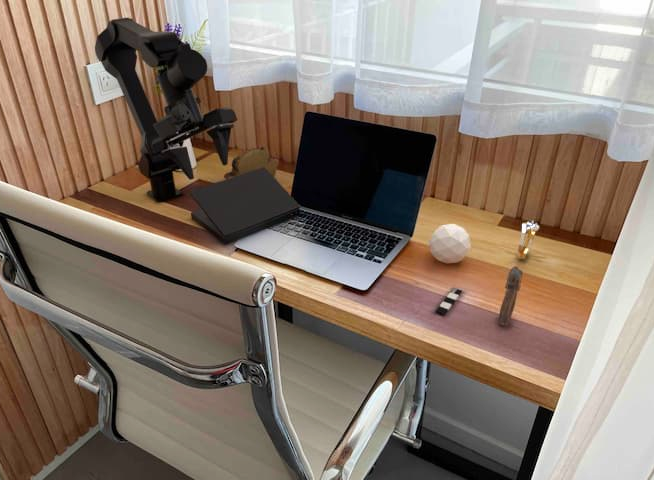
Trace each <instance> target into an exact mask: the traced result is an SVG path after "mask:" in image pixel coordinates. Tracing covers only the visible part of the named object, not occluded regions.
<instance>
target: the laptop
mask: <svg viewBox="0 0 654 480" xmlns="http://www.w3.org/2000/svg"><path fill="white" fill-rule="evenodd" d="M299 211H300V212H299ZM296 212H297V213H296ZM291 214H292V215H291ZM300 215H301V209H300V208H299V209H296V210H294V211H291V212H289V213H286V214H284V215H281V216H279V217H276V218H273V219H271V220H268V221H266V222H263V223H261V224H258V225H255V226H253V227H250V228H248V229H245V230H243V231H240V232H238V233H235V234H232V235H230V236H227V237H224V236H223V235H222V234H221V232H220V231H219V230H218V229H217V227H216V226H215V225H214V224H213V222H212V221H211V220H210V219H209V217H208V216H207V215H206V214H205V212H204V211H203V210H202V209H201V208H200V209H197V210H194V211H190V218H191V221H193V222H195V223H196V224H197V225H198V226H200V227H201V228H202V229H203V230H205V231H207V232H208V233H209V234H210V235H212V236H213V237H214V238H216V239H217V240H218V241H220V242H221V243H222V244H223V245H224V246H226V245H229V244H231V243H235V242H236V241H239V240H241V239H243V238H246V237H248V236H251V235H254V234H257V233H259V232H261V231H263V230H266V229H269V228H271V227H274V226H276V225H280V224H281V223H284V222H287V221H288V220H292V219H294V218H296V217H299V216H300Z"/></svg>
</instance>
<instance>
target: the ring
mask: <svg viewBox="0 0 654 480" xmlns="http://www.w3.org/2000/svg"><path fill="white" fill-rule="evenodd" d="M534 221H535V220H533V219H532V220H531V221H529V220H527V222H522V224H521V227H522V228H521V236H520V239H519V240H520V241H519V245H518V249H517V255H516V256H517V259H520V260H525V259H526V257H527V255H528V253H529V251H530V249H531V247H532V245H533V241H534V238H535V234H536V232H537V231H538V230H539V229H540V225H538V223H537V222H535V223H534ZM526 234H527V235H526ZM526 236H527V239H526ZM525 240H526V241H525Z"/></svg>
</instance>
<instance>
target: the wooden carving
mask: <svg viewBox="0 0 654 480" xmlns="http://www.w3.org/2000/svg"><path fill="white" fill-rule="evenodd" d="M279 164H280V160H279V159H277V158H275V157H272V156H271V153H270V151H269V148H267V147H264V146H262V147H260V148H258V147H252V148H248V149H247V150H245V151H243V152H241V153H240V154H238V156H236V157H234V158H232V161H231V171H229V172H226V173H225V174H223V178H224V180H226V179H229V178H232V177H235V176H238V175H241V174H244V173H247V172H250V171H253V170H256V169H259V168H262V167H265V168H266V169H267V170H268V171H269V172H270V174H271V175H272V176H273V177H275V176H276V173H277V169H278V167H279Z"/></svg>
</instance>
